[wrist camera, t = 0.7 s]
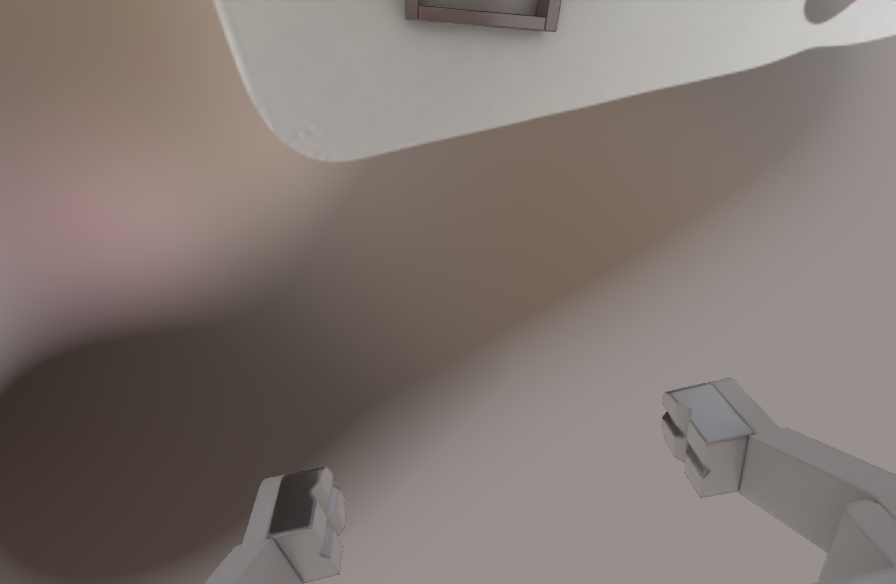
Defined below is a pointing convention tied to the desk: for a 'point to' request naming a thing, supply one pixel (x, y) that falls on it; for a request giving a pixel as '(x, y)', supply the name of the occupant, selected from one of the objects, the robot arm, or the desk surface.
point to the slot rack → (488, 16)
